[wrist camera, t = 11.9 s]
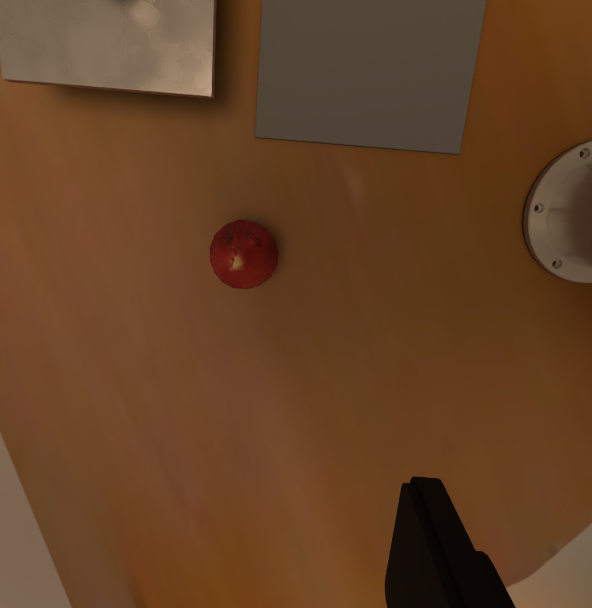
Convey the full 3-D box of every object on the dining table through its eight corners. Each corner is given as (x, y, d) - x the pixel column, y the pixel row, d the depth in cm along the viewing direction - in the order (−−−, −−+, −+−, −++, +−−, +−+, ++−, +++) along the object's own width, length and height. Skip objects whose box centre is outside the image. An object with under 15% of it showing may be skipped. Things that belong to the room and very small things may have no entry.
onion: (211, 229, 37) (186, 236, 29) (269, 210, 37) (259, 213, 29) (231, 287, 38) (212, 308, 31) (287, 270, 38) (283, 287, 30)
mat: (500, -93, 30) (503, -97, 30) (457, 154, 35) (459, 154, 34) (268, -112, 30) (268, -116, 30) (255, 137, 35) (255, 136, 35)
